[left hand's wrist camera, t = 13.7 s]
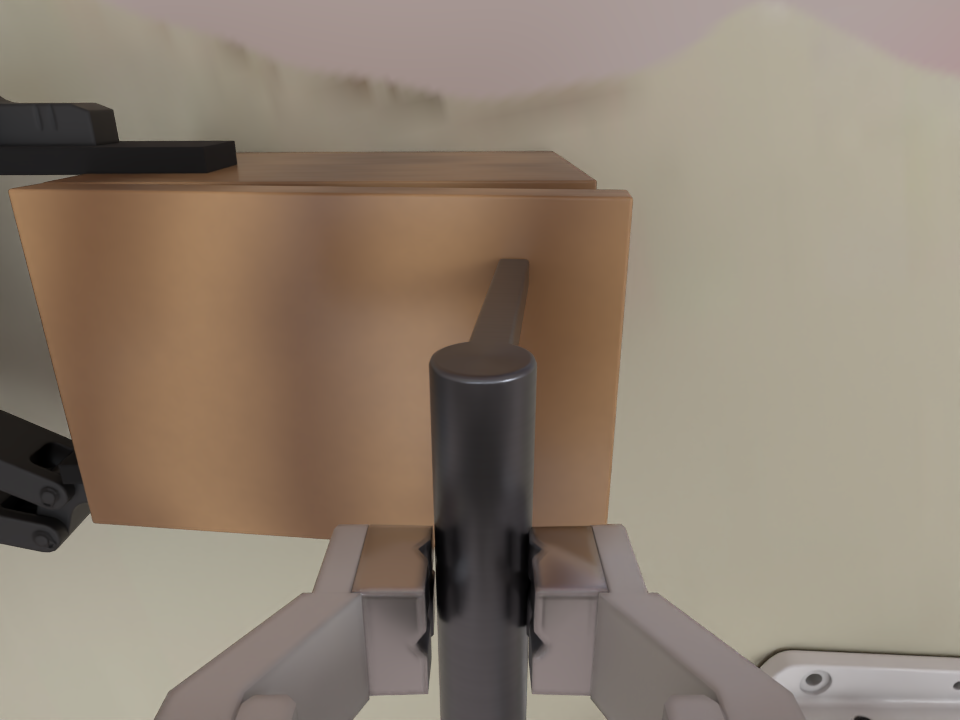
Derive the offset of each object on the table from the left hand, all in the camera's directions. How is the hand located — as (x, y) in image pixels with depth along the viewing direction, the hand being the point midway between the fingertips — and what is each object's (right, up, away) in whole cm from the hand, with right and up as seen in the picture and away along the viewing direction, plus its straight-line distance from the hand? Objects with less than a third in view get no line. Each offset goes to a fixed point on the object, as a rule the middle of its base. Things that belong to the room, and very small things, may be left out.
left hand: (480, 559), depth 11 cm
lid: (-4, +3, +8) cm, 9 cm away
